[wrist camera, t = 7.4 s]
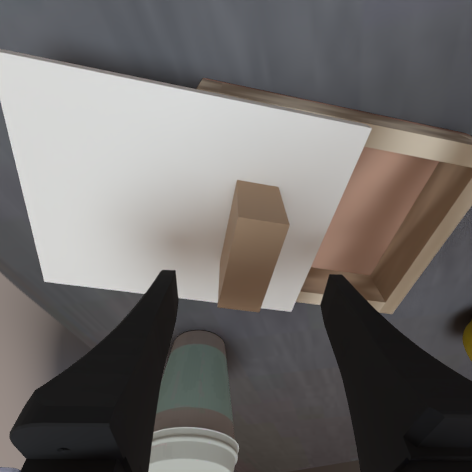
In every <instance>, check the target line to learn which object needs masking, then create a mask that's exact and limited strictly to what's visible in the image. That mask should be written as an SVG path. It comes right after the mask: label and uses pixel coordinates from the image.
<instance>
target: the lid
mask: <svg viewBox="0 0 472 472" xmlns="http://www.w3.org/2000/svg"><path fill="white" fill-rule="evenodd" d="M0 101H1V105H2V109H3V113H4V117H5V121H6V126H7V130H8V134H9V138H10V142H11V146H12V150H13V154H14V158H15V163H16V167H17V171H18V175H19V179H20V183H21V187H22V191H23V195H24V200H25V204H26V208H27V212H28V216H29V220H30V224H31V228H32V232H33V237H34V241H35V245H36V249H37V253H38V257H39V261H40V265H41V269H42V274H43V278H44V282H52V283H60V284H68V285H76V286H85V287H93V288H101V289H109V290H117V291H126V292H134V293H142V294H145V293H146V292H147V290H148V289H149V287H150V286H151V285H152V283H153V282H154V280H155V279H156V277H157V276H158V274H159V273H160V271H162V270H176V280H177V290H178V298H183V299H191V300H199V301H207V302H216V303H218V307H220V308H228V309H236V310H245V311H253V312H260V309H261V308H265V309H273V310H281V311H289V312H291V311H292V309H293V306H294V304H295V302H296V300H297V297H298V295H299V293H300V291H301V288H302V286H303V284H304V282H305V279H306V277H307V275H308V272H309V270H310V268H311V266H312V263H313V261H314V259H315V257H316V254H317V252H318V250H319V247H320V245H321V243H322V241H323V238H324V236H325V234H326V232H327V229H328V227H329V225H330V223H331V220H332V218H333V216H334V213H335V211H336V209H337V207H338V204H339V202H340V200H341V198H342V195H343V193H344V191H345V189H346V186H347V184H348V182H349V179H350V177H351V175H352V173H353V170H354V168H355V166H356V164H357V161H358V159H359V157H360V155H361V152H362V150H363V148H364V145H365V143H366V141H367V139H368V136H369V134H370V132H371V130H372V128H371V127H369V126H368V125H367V124H363V123H358V122H353V121H348V120H343V119H338V118H334V117H329V116H324V115H319V114H314V113H309V112H304V111H300V110H295V109H290V108H285V107H280V106H275V105H270V104H266V103H261V102H256V101H251V100H246V99H241V98H237V97H232V96H227V95H222V94H217V93H212V92H207V91H203V90H198V89H193V88H188V87H183V86H178V85H173V84H169V83H164V82H159V81H154V80H149V79H144V78H140V77H135V76H130V75H125V74H120V73H115V72H110V71H106V70H101V69H96V68H91V67H86V66H81V65H76V64H72V63H67V62H62V61H57V60H52V59H47V58H43V57H38V56H33V55H28V54H23V53H18V52H13V51H9V50H4V49H0Z"/></svg>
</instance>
